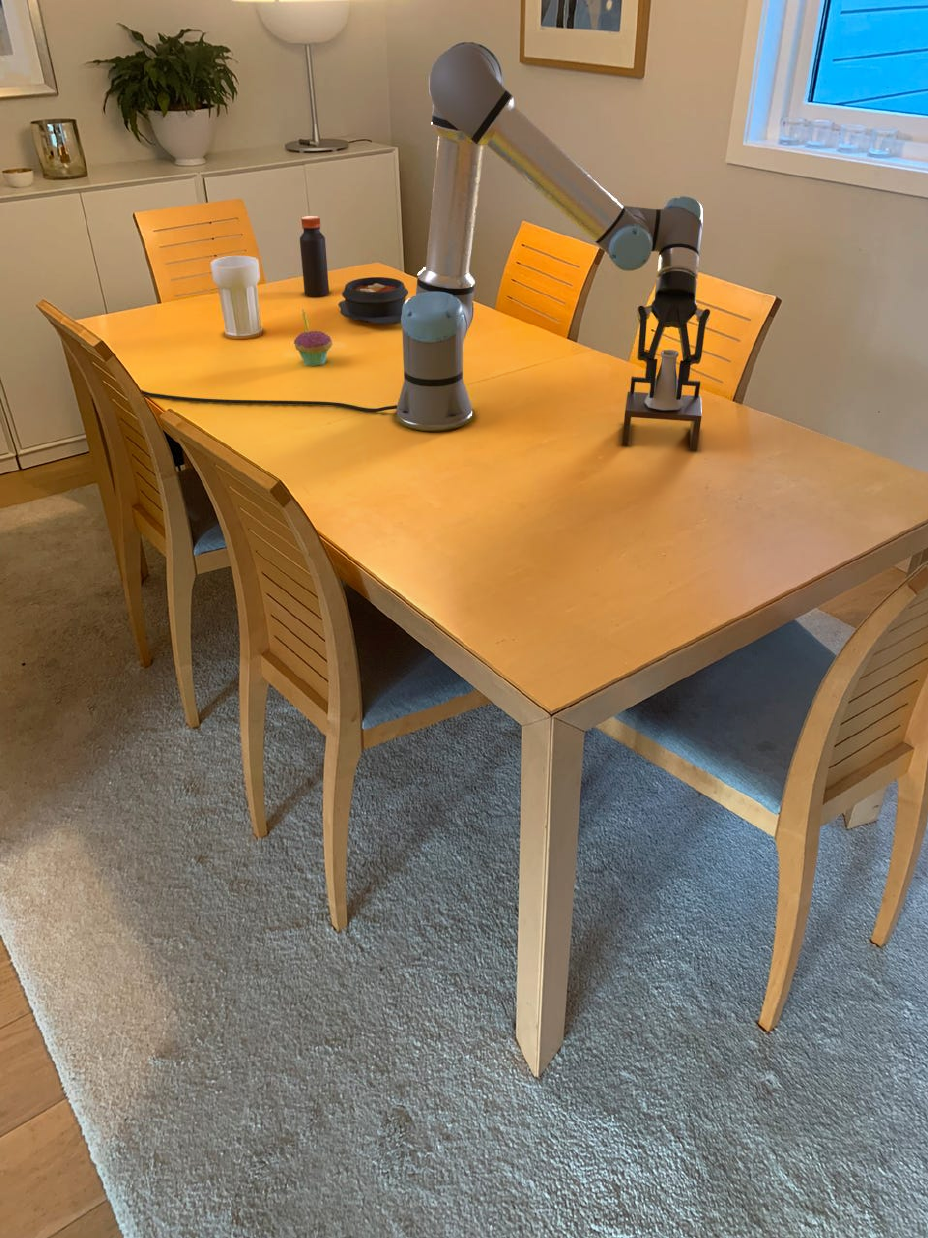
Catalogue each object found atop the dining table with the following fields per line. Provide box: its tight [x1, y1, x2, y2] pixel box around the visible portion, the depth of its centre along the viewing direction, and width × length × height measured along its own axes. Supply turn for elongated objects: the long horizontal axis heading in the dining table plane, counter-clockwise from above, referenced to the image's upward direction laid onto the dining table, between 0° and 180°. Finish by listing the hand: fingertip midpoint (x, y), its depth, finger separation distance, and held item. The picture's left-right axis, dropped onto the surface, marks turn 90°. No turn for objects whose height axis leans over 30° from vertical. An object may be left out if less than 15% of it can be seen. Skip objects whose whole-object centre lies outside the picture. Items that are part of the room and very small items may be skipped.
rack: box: [621, 376, 703, 452], centre depth 184 cm, size 14×10×10 cm
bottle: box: [299, 215, 330, 298], centre depth 263 cm, size 7×7×20 cm
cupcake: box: [293, 308, 333, 367], centre depth 219 cm, size 9×8×12 cm
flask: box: [645, 349, 683, 410], centre depth 179 cm, size 7×7×10 cm
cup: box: [209, 255, 263, 340], centre depth 235 cm, size 11×11×17 cm
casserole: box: [337, 276, 409, 325], centre depth 248 cm, size 25×19×8 cm
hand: (665, 395), depth 177 cm, fingers closed on flask, 4 cm apart
